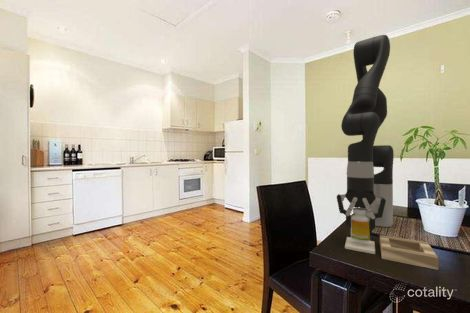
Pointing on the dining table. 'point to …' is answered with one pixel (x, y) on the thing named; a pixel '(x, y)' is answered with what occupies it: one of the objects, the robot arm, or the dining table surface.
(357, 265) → the dining table surface
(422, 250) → the oak holder
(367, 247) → the cream tile
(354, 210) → the supplement bottle
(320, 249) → the dining table surface
